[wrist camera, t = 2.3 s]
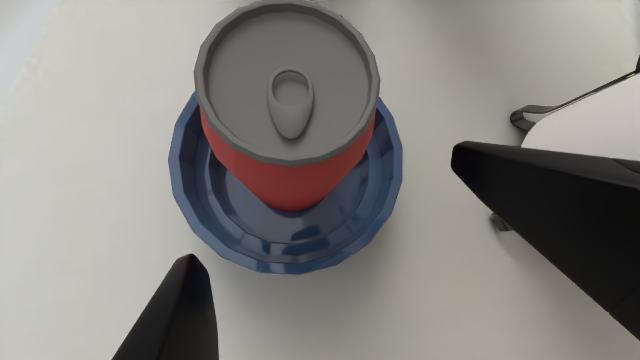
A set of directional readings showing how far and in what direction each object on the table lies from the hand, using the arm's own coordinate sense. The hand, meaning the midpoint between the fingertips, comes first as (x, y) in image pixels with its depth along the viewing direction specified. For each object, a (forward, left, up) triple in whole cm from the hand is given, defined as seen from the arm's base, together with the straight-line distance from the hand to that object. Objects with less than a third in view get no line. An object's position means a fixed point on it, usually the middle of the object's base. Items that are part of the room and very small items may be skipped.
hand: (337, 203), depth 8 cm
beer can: (+3, +3, -11) cm, 12 cm away
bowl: (+3, +3, -11) cm, 12 cm away
